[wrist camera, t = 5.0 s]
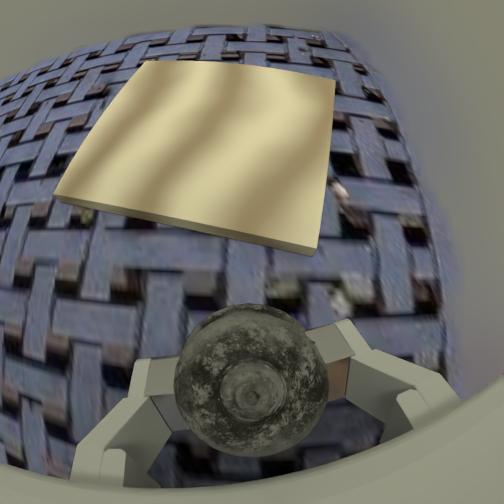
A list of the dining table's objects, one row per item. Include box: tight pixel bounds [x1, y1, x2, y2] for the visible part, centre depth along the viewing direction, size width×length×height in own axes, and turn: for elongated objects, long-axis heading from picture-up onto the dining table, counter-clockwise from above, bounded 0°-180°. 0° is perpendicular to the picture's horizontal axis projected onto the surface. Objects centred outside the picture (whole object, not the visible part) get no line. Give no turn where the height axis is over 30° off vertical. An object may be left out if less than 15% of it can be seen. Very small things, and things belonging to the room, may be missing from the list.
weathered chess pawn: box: [173, 303, 329, 458], centre depth 9 cm, size 6×6×12 cm
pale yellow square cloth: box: [53, 61, 335, 256], centre depth 20 cm, size 18×16×1 cm
